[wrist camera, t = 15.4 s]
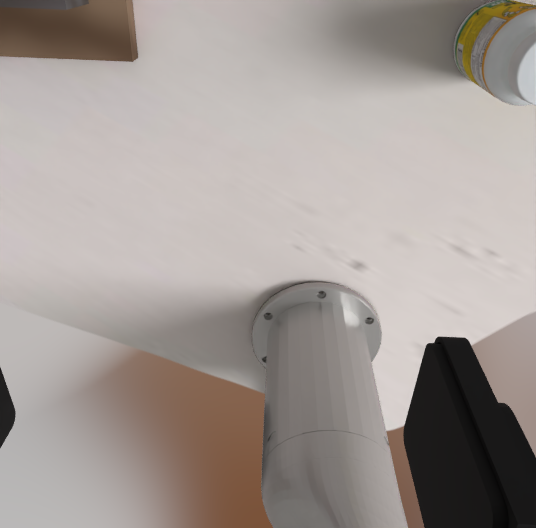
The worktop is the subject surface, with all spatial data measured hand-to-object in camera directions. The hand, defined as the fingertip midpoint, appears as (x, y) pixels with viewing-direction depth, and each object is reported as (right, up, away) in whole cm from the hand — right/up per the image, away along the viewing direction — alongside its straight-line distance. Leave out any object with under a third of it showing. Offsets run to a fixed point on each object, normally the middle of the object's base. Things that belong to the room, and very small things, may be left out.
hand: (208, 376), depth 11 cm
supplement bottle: (+17, +18, +24) cm, 35 cm away
